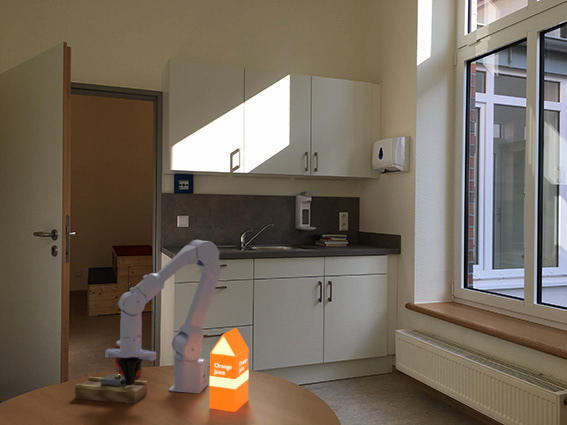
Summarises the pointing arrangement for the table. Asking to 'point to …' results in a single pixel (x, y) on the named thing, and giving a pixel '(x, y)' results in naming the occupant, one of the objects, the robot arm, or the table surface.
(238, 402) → the orange juice
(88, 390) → the wooden channel tray
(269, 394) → the table surface
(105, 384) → the grey block with knob
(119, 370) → the canned food
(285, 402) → the table surface
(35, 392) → the table surface
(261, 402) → the table surface
